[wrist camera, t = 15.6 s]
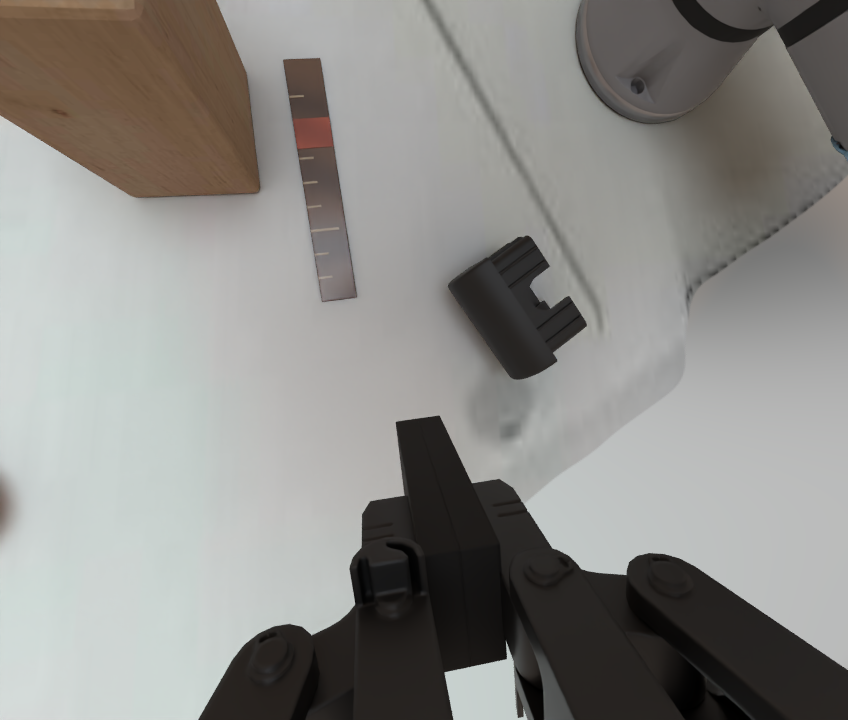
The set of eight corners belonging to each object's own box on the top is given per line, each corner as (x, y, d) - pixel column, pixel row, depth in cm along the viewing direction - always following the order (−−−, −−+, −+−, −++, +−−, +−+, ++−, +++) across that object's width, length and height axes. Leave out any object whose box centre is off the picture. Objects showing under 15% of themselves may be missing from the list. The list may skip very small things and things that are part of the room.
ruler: (356, 297, 36) (356, 297, 36) (322, 301, 36) (321, 301, 36) (320, 60, 35) (319, 57, 34) (283, 62, 34) (282, 58, 34)
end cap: (438, 289, 38) (456, 280, 31) (498, 245, 38) (529, 226, 32) (499, 376, 39) (528, 384, 32) (556, 332, 40) (596, 331, 33)
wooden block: (132, 199, 33) (-197, 1, 13) (113, 69, 32) (-264, -344, 13) (261, 194, 35) (138, 11, 15) (247, 70, 34) (96, -297, 14)
